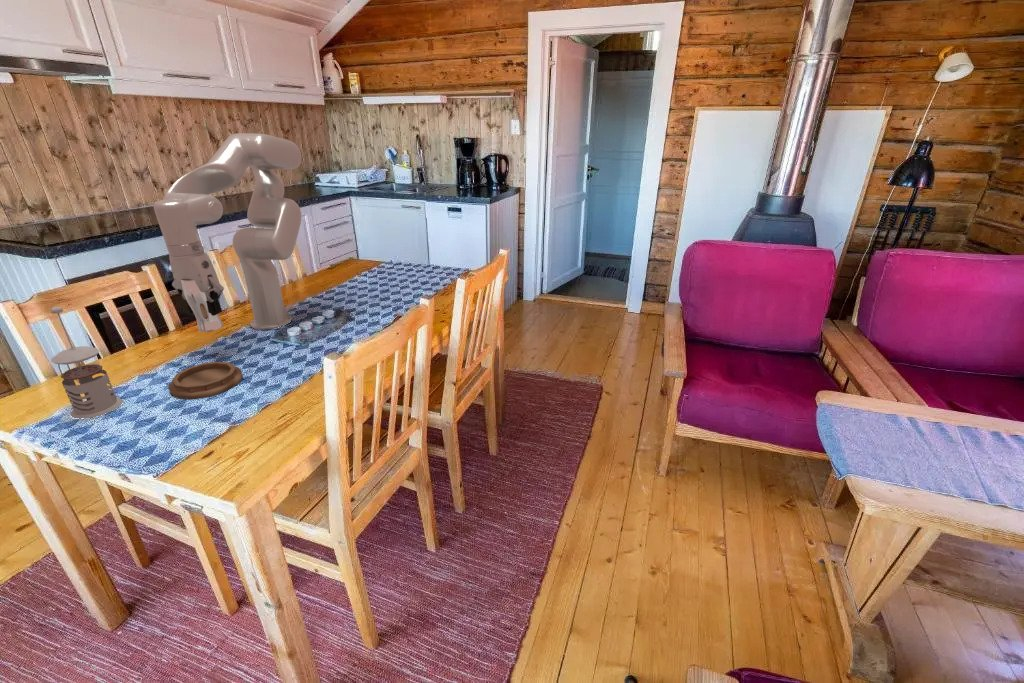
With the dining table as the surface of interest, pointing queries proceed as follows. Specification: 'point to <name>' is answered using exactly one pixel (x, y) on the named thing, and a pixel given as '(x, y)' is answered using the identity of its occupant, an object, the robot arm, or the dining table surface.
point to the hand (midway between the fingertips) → (205, 312)
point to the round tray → (205, 380)
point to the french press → (85, 381)
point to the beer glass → (200, 306)
